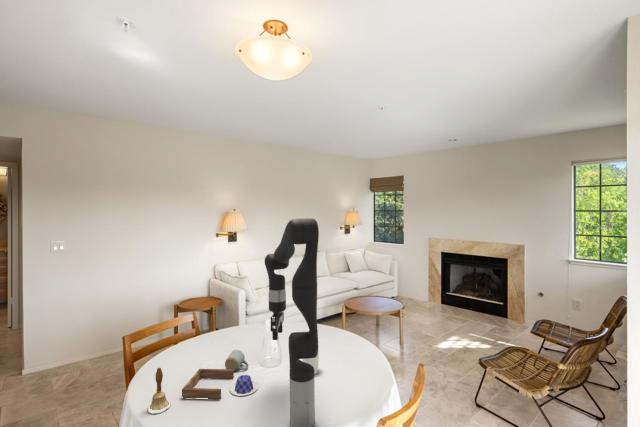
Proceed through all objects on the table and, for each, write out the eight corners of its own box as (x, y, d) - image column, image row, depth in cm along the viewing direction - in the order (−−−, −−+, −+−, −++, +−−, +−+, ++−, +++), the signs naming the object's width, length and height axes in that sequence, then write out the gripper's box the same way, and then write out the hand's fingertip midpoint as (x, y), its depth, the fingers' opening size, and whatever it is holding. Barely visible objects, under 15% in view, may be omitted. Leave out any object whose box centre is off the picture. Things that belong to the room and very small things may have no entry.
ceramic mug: (223, 372, 158) (223, 356, 158) (230, 363, 166) (230, 348, 166) (244, 373, 157) (245, 357, 157) (250, 365, 165) (250, 350, 165)
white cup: (317, 376, 153) (316, 355, 153) (300, 375, 155) (300, 354, 155) (320, 368, 161) (320, 348, 161) (304, 367, 163) (304, 347, 162)
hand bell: (164, 399, 136) (163, 361, 136) (174, 407, 131) (173, 367, 131) (143, 409, 130) (142, 369, 129) (153, 417, 124) (152, 376, 124)
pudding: (228, 385, 147) (228, 373, 147) (255, 380, 151) (255, 368, 151) (231, 400, 136) (231, 387, 136) (260, 394, 140) (260, 381, 140)
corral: (220, 399, 135) (220, 390, 135) (182, 399, 136) (181, 389, 136) (233, 377, 153) (233, 369, 153) (199, 377, 154) (199, 368, 154)
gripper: (282, 303, 136) (282, 342, 136) (289, 295, 150) (289, 330, 150) (264, 303, 137) (264, 342, 137) (273, 294, 151) (273, 329, 151)
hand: (277, 336), depth 143 cm, fingers open, 8 cm apart
